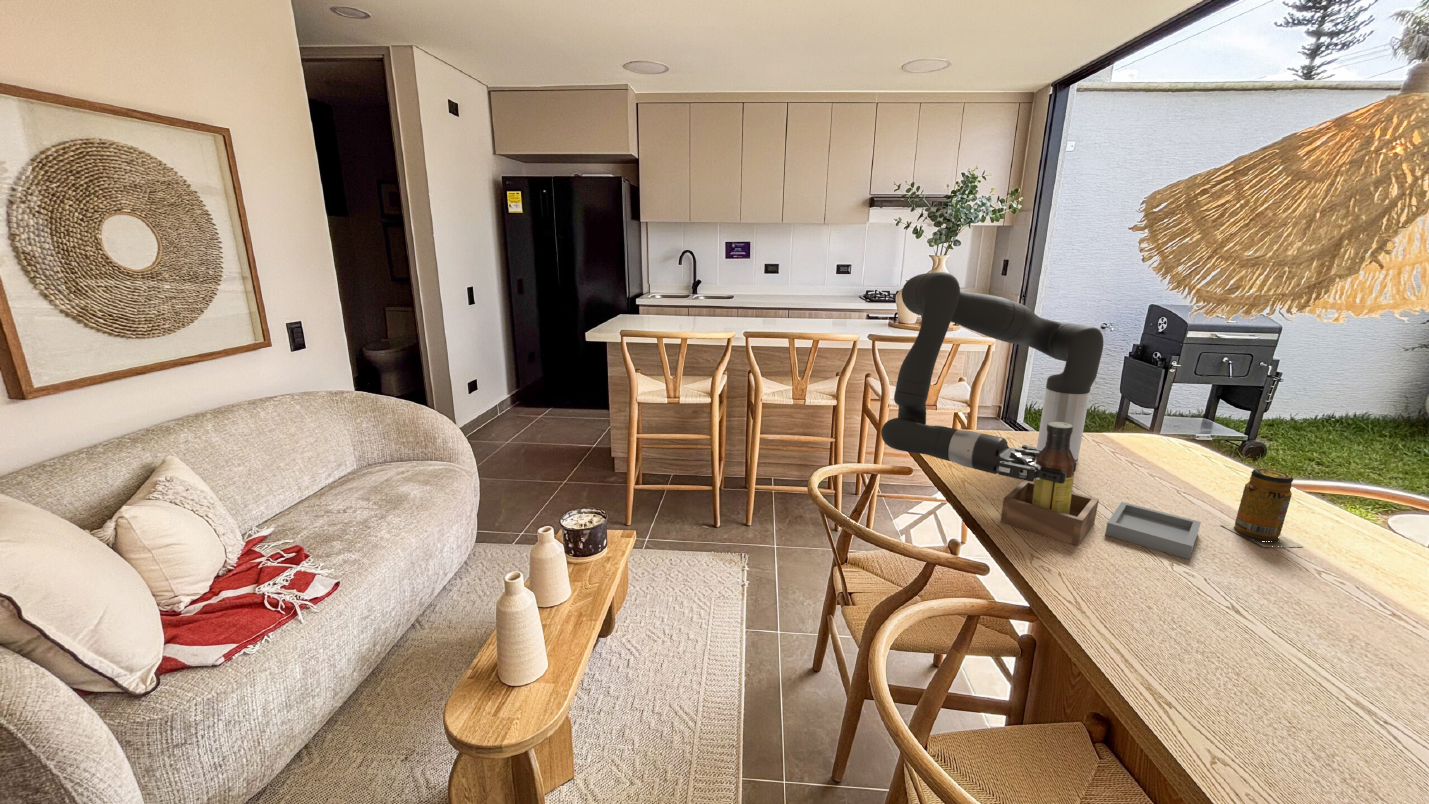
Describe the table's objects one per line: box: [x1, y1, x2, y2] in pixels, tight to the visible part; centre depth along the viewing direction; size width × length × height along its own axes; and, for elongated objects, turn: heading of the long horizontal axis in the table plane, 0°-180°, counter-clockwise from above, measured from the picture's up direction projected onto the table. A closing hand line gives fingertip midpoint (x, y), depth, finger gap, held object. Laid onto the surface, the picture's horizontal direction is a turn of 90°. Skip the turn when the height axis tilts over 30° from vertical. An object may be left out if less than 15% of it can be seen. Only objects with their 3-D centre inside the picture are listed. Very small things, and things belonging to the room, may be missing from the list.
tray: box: [1104, 501, 1202, 560], centre depth 101 cm, size 12×12×2 cm
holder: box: [1000, 480, 1100, 547], centre depth 105 cm, size 12×13×5 cm
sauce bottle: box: [1032, 422, 1076, 514], centre depth 103 cm, size 7×6×20 cm
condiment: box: [1219, 468, 1304, 549], centre depth 99 cm, size 7×8×12 cm
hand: (1070, 472), depth 101 cm, fingers closed on sauce bottle, 6 cm apart
